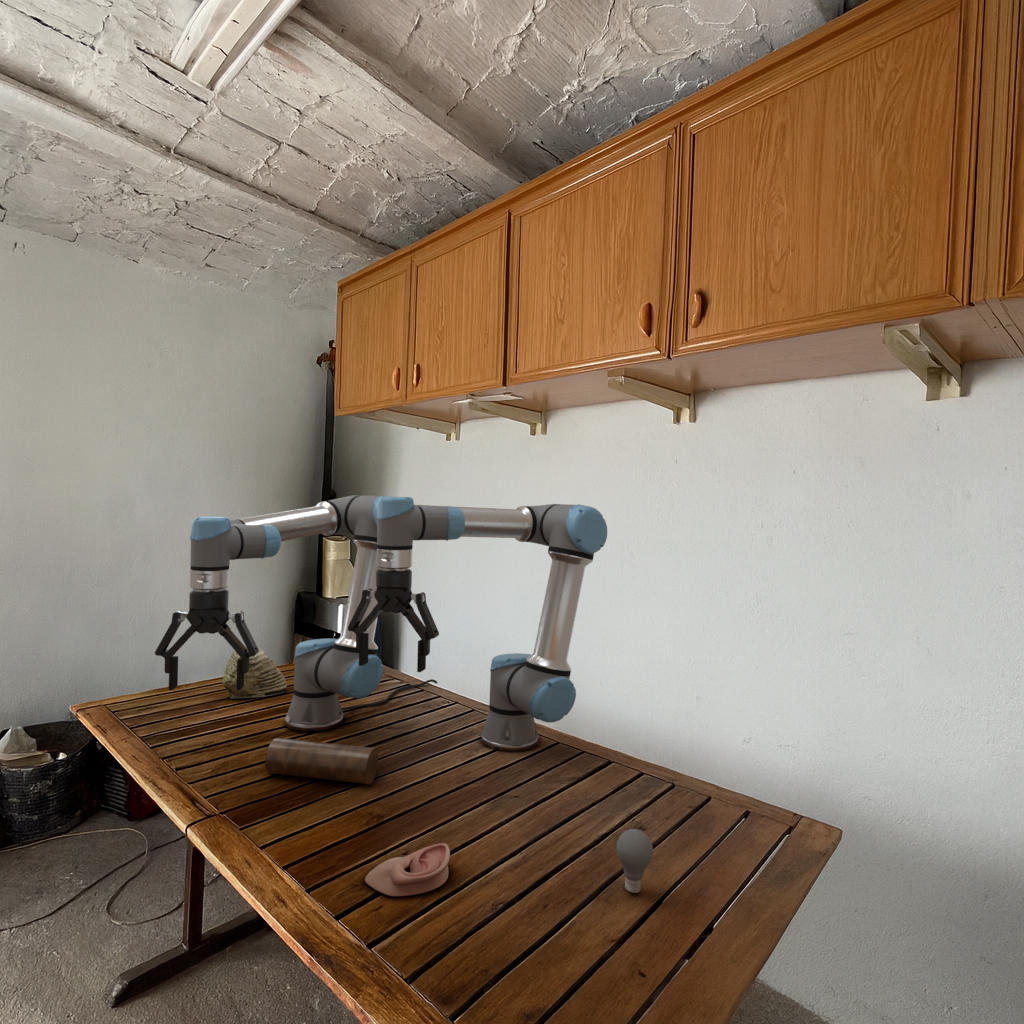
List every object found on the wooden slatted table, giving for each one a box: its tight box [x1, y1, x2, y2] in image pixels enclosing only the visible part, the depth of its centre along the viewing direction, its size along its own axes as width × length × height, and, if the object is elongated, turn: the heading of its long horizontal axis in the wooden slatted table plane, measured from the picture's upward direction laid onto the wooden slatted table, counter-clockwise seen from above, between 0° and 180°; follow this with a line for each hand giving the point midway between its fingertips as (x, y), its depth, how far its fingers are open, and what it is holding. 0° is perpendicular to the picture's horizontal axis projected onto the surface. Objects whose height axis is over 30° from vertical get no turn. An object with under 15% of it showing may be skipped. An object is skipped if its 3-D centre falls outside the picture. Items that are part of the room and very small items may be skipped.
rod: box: [264, 737, 379, 785], centre depth 143 cm, size 24×8×8 cm, turn 81°
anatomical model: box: [364, 842, 451, 897], centre depth 107 cm, size 13×4×12 cm
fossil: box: [222, 646, 288, 699], centre depth 198 cm, size 9×18×15 cm, turn 132°
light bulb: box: [615, 828, 654, 894], centre depth 106 cm, size 6×6×10 cm
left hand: (206, 688), depth 135 cm, fingers open, 13 cm apart
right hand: (392, 667), depth 136 cm, fingers open, 13 cm apart
